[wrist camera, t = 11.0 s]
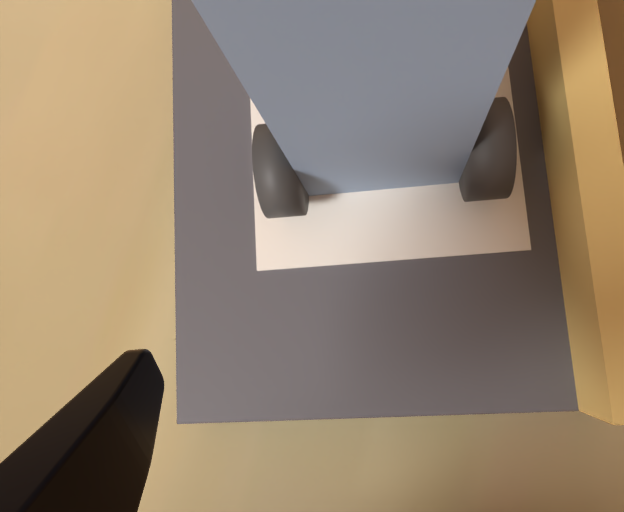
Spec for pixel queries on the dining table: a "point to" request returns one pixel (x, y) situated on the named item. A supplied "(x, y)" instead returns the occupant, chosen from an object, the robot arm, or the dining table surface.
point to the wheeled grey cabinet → (373, 94)
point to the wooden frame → (404, 258)
